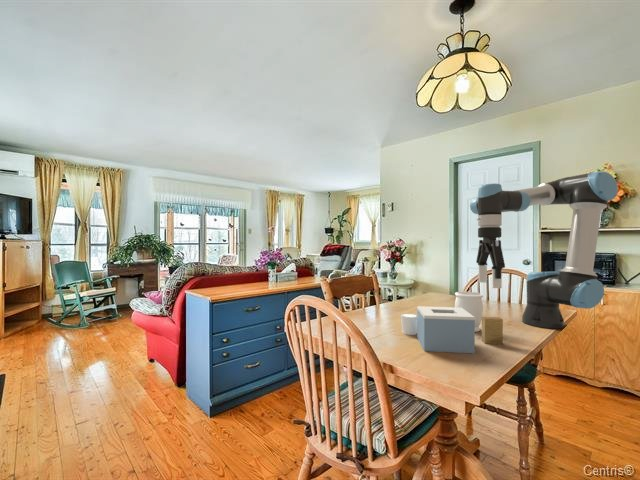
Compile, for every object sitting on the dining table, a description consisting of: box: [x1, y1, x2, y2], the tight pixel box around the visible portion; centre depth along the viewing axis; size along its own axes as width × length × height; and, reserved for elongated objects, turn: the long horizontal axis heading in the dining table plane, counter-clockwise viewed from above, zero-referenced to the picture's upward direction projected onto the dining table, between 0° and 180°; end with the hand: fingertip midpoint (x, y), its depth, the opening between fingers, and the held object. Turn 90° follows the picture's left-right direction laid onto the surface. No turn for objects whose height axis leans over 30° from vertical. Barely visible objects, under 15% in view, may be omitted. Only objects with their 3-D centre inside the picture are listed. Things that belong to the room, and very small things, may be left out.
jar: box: [454, 291, 484, 333], centre depth 129 cm, size 11×10×15 cm
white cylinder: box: [400, 313, 417, 336], centre depth 124 cm, size 7×7×7 cm
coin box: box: [416, 305, 476, 354], centre depth 110 cm, size 16×14×12 cm
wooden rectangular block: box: [481, 316, 504, 345], centre depth 113 cm, size 6×3×9 cm, turn 82°
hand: (489, 285), depth 113 cm, fingers open, 13 cm apart
